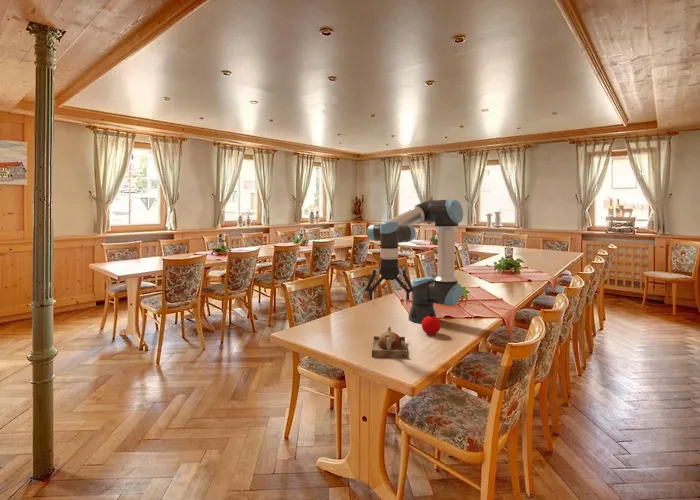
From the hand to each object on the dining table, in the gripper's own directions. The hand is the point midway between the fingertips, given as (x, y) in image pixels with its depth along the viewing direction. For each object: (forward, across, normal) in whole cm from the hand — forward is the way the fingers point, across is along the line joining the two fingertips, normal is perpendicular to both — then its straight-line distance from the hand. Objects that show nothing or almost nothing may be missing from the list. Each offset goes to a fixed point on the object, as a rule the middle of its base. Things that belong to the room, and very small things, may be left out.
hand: (389, 307), depth 163 cm
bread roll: (+17, 0, 0) cm, 17 cm away
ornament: (+19, -20, -22) cm, 35 cm away
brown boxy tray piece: (+18, 0, 0) cm, 18 cm away
